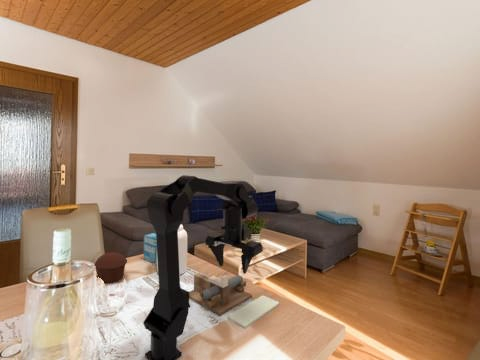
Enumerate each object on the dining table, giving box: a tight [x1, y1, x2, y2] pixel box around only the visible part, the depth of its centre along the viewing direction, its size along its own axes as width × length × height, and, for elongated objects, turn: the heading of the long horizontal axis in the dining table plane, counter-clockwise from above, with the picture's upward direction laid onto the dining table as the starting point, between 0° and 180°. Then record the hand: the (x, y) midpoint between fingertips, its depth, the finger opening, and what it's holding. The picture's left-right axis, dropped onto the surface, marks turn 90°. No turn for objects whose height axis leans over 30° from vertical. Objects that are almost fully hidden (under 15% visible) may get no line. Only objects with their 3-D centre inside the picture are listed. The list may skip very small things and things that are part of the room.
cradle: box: [188, 272, 253, 317], centre depth 93 cm, size 17×16×6 cm
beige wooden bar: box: [209, 274, 229, 288], centre depth 89 cm, size 7×2×3 cm, turn 49°
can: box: [156, 223, 188, 276], centre depth 113 cm, size 12×12×20 cm
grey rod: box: [203, 274, 244, 300], centre depth 92 cm, size 3×18×3 cm, turn 139°
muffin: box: [94, 251, 128, 285], centre depth 104 cm, size 12×11×10 cm
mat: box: [227, 294, 280, 329], centre depth 86 cm, size 7×18×1 cm, turn 139°
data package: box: [143, 232, 157, 265], centre depth 123 cm, size 12×4×12 cm, turn 58°
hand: (232, 269), depth 85 cm, fingers open, 9 cm apart
